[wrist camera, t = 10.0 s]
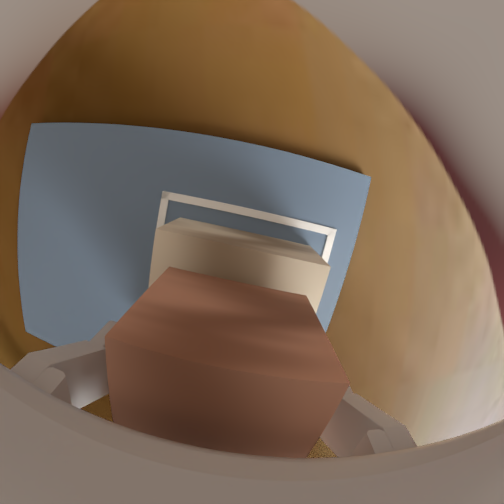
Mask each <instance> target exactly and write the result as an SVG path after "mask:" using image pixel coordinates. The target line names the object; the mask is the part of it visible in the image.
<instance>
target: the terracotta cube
mask: <svg viewBox="0 0 504 504" xmlns="http://www.w3.org/2000/svg"><path fill="white" fill-rule="evenodd" d="M105 352H106V367H107V378H108V387H109V396H110V404H111V411H112V417H113V423H116V424H119V425H122V426H125V427H127V428H130V429H133V430H136V431H139V432H143V433H146V434H149V435H153V436H156V437H160V438H163V439H167V440H171V441H175V442H179V443H183V444H188V445H193V446H197V447H202V448H208V449H213V450H219V451H226V452H233V453H240V454H249V455H259V456H271V457H289V458H306V457H307V456H308V454H309V453H310V451H311V450H312V448H313V447H314V445H315V444H316V442H317V441H318V439H319V438H320V436H321V434H322V433H323V431H324V429H325V428H326V426H327V424H328V423H329V421H330V419H331V418H332V416H333V414H334V413H335V411H336V409H337V407H338V405H339V404H340V402H341V400H342V398H343V396H344V394H345V393H346V391H347V389H348V387H349V385H350V382H349V380H348V378H347V376H346V374H345V371H344V369H343V367H342V365H341V363H340V361H339V359H338V357H337V355H336V353H335V351H334V349H333V347H332V345H331V343H330V341H329V339H328V337H327V335H326V333H325V331H324V329H323V327H322V325H321V323H320V321H319V319H318V317H317V315H316V313H315V311H314V309H313V307H312V305H311V303H310V302H309V300H308V298H307V296H306V295H301V294H296V293H291V292H286V291H280V290H275V289H270V288H265V287H261V286H256V285H251V284H246V283H241V282H237V281H232V280H227V279H223V278H218V277H213V276H209V275H204V274H200V273H195V272H191V271H187V270H182V269H178V268H174V267H168V268H167V269H166V270H165V271H164V273H163V274H162V275H161V276H160V277H159V278H158V279H157V280H156V281H155V282H154V283H153V284H152V285H151V286H150V287H149V288H148V289H147V290H146V291H145V292H144V293H143V295H142V296H141V297H140V298H139V299H138V300H137V301H136V302H135V303H134V304H133V305H132V306H131V307H130V309H129V310H128V311H127V312H126V313H125V314H124V315H123V316H122V317H121V318H120V320H119V321H118V322H117V323H116V324H115V325H114V326H113V327H112V328H111V330H110V331H109V332H108V333H107V334H106V335H105Z"/></svg>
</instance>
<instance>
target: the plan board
mask: <svg viewBox="0 0 504 504" xmlns="http://www.w3.org/2000/svg"><path fill="white" fill-rule="evenodd" d="M370 181H371V177H369V176H366V175H363V174H360V173H357V172H354V171H351V170H348V169H345V168H342V167H339V166H335V165H332V164H329V163H326V162H322V161H319V160H315V159H312V158H308V157H304V156H301V155H297V154H293V153H289V152H285V151H281V150H277V149H273V148H269V147H265V146H260V145H256V144H251V143H246V142H241V141H236V140H231V139H226V138H221V137H215V136H209V135H203V134H197V133H191V132H184V131H177V130H169V129H161V128H152V127H142V126H131V125H118V124H100V123H32V124H31V128H30V133H29V137H28V142H27V147H26V153H25V158H24V164H23V171H22V179H21V187H20V197H19V211H18V271H19V285H20V295H21V304H22V311H23V318H24V324H25V330H26V332H28V333H30V334H32V335H34V336H36V337H38V338H40V339H42V340H44V341H46V342H48V343H50V344H52V345H54V346H56V347H58V346H63V345H67V344H71V343H76V342H80V341H84V340H87V341H90V340H91V339H92V338H93V337H94V336H95V335H96V334H97V333H98V332H99V331H100V330H101V329H102V328H103V327H104V326H105V325H106V323H107V322H108V321H115V322H118V321H119V320H120V318H121V317H122V316H123V315H124V314H125V313H126V312H127V311H128V310H129V309H130V307H131V306H132V305H133V304H134V303H135V302H136V301H137V300H138V299H139V298H140V297H141V296H142V295H143V293H144V292H145V291H146V290H147V289H148V287H149V277H150V268H151V260H152V252H153V244H154V237H155V231H156V228H158V227H161V226H163V225H165V224H167V223H169V222H171V221H173V220H176V219H178V218H180V217H181V218H186V219H190V220H195V221H200V222H205V223H209V224H214V225H219V226H223V227H228V228H233V229H237V230H242V231H246V232H251V233H256V234H260V235H265V236H269V237H273V238H278V239H282V240H287V241H291V242H296V243H300V244H304V245H309V246H311V247H312V248H313V249H314V250H315V251H316V252H317V253H318V254H319V255H320V256H321V257H322V258H323V259H324V260H325V261H326V262H327V263H328V264H329V265H330V266H331V268H330V271H329V275H328V278H327V281H326V284H325V288H324V291H323V294H322V297H321V300H320V303H319V306H318V309H317V312H316V315H317V317H318V319H319V321H320V323H321V325H322V327H323V329H324V331H325V333H326V331H327V328H328V326H329V323H330V320H331V317H332V314H333V312H334V309H335V306H336V303H337V300H338V297H339V294H340V291H341V288H342V285H343V282H344V279H345V275H346V272H347V269H348V266H349V262H350V259H351V256H352V252H353V249H354V245H355V242H356V238H357V234H358V231H359V227H360V223H361V219H362V215H363V211H364V207H365V203H366V199H367V194H368V190H369V185H370Z"/></svg>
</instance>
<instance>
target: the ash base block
mask: <svg viewBox="0 0 504 504" xmlns="http://www.w3.org/2000/svg"><path fill="white" fill-rule="evenodd" d="M168 267H174V268H178V269H182V270H187V271H191V272H195V273H200V274H204V275H209V276H213V277H218V278H223V279H227V280H232V281H237V282H241V283H246V284H251V285H256V286H261V287H265V288H270V289H275V290H280V291H286V292H291V293H296V294H301V295H306V296H307V298H308V300H309V302H310V303H311V305H312V307H313V309H314V311H315V313H316V312H317V309H318V306H319V303H320V300H321V297H322V294H323V291H324V288H325V284H326V281H327V278H328V275H329V271H330V268H331V266H330V265H329V264H328V263H327V262H326V261H325V260H324V259H323V258H322V257H321V256H320V255H319V254H318V253H317V252H316V251H315V250H314V249H313V248H312V247H311V246H309V245H304V244H300V243H296V242H291V241H287V240H282V239H278V238H273V237H269V236H265V235H260V234H256V233H251V232H246V231H242V230H237V229H233V228H228V227H223V226H219V225H214V224H209V223H205V222H200V221H195V220H190V219H186V218H181V217H180V218H178V219H176V220H173V221H171V222H169V223H167V224H165V225H163V226H161V227H158V228H156V231H155V237H154V244H153V252H152V260H151V268H150V277H149V287H150V286H151V285H152V284H153V283H154V282H155V281H156V280H157V279H158V278H159V277H160V276H161V275H162V274H163V273H164V271H165V270H166V269H167V268H168ZM149 287H148V288H149Z"/></svg>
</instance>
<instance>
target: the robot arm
mask: <svg viewBox="0 0 504 504" xmlns="http://www.w3.org/2000/svg"><path fill="white" fill-rule="evenodd" d="M116 323H117V322H115V321H108V322H107V323H106V325H105V326H104V327H103V328H102V329H101V330H100V331H99V332H98V333H97V334H96V335H95V336H94V337H93V338H92V339H91V340H90V341H87V340H84V341H80V342H76V343H71V344H67V345H63V346H58V347H54V348H49V349H45V350H40V351H35V352H30V353H28V354H27V355H26V356H25V357H24V358H22V359H21V360H20V361H19V362H18V363H17V364H16V365H15V366H14V367H13V368H12V369H8V368H7V367H5V366H4V365H2V364H1V363H0V504H504V419H503V420H501V421H499V422H496V423H494V424H491V425H489V426H486V427H483V428H481V429H478V430H475V431H472V432H469V433H466V434H463V435H460V436H457V437H454V438H450V439H447V440H443V441H439V442H435V443H431V444H427V445H423V446H418V447H417V445H416V444H415V442H414V440H413V438H412V437H411V435H410V433H409V431H408V430H407V428H406V426H405V425H403V424H402V423H400V422H399V421H397V420H395V419H394V418H392V417H391V416H389V415H388V414H386V413H385V412H383V411H382V410H380V409H379V408H377V407H376V406H374V405H373V404H371V403H370V402H368V401H367V400H365V399H364V398H362V397H361V396H359V395H358V394H353V392H352V390H351V388H350V386H349V387H348V389H347V391H346V393H345V394H344V396H343V398H342V400H341V402H340V404H339V405H338V407H337V409H336V411H335V413H334V414H333V416H332V418H331V419H330V421H329V423H328V424H327V426H326V428H325V429H324V431H323V433H322V434H321V436H320V438H321V439H322V441H323V442H324V443H325V444H326V445H327V446H328V447H329V448H330V449H331V450H332V451H333V452H334V454H335V455H336V456H337V457H331V458H289V457H271V456H259V455H249V454H240V453H233V452H226V451H219V450H213V449H208V448H202V447H197V446H193V445H188V444H183V443H179V442H175V441H171V440H167V439H163V438H160V437H156V436H153V435H149V434H146V433H143V432H139V431H136V430H133V429H130V428H127V427H125V426H122V425H119V424H116V423H113V422H111V421H108V420H106V419H103V418H101V417H98V416H96V415H93V414H91V413H89V412H86V411H84V410H82V409H80V408H82V407H84V406H86V405H88V404H90V403H92V402H94V401H96V400H98V399H99V398H101V397H103V396H105V395H107V394H109V387H108V378H107V367H106V352H105V335H106V334H107V333H108V332H109V331H110V330H111V328H112V327H113V326H114V325H115V324H116Z"/></svg>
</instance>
